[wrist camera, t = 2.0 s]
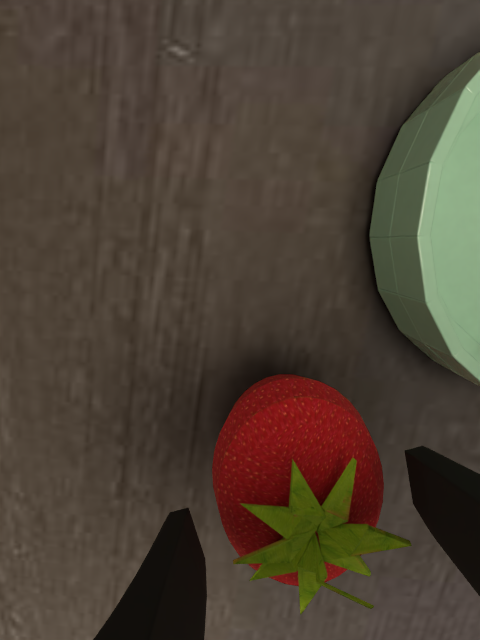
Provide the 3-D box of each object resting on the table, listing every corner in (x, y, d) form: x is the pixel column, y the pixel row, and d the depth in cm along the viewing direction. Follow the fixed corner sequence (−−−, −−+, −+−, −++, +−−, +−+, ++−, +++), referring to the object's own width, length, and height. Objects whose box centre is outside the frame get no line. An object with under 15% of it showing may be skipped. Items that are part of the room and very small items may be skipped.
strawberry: (326, 330, 18) (465, 441, 8) (333, 467, 19) (456, 702, 9) (204, 344, 17) (189, 478, 8) (222, 482, 19) (230, 740, 9)
